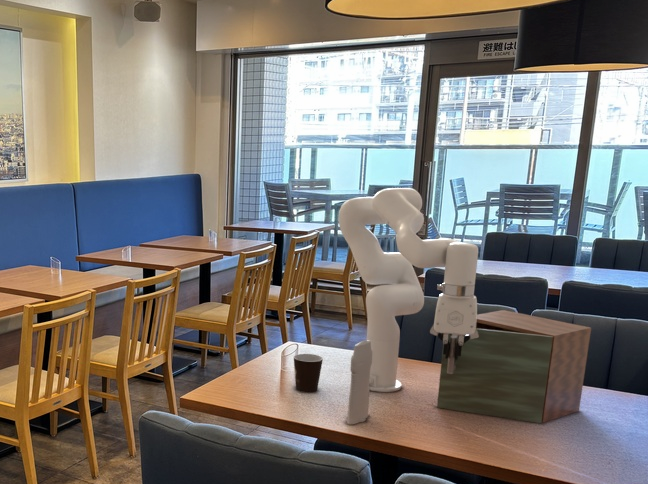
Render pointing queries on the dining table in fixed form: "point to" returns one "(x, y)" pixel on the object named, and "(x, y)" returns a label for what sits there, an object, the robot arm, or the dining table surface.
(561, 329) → the cupboard
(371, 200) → the robot arm
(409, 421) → the dining table surface
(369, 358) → the tall pale column
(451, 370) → the cupboard door
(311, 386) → the coffee mug
